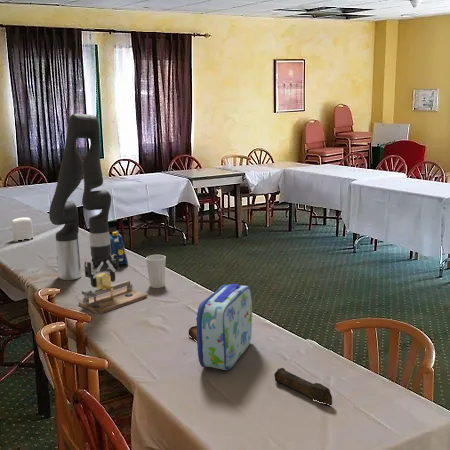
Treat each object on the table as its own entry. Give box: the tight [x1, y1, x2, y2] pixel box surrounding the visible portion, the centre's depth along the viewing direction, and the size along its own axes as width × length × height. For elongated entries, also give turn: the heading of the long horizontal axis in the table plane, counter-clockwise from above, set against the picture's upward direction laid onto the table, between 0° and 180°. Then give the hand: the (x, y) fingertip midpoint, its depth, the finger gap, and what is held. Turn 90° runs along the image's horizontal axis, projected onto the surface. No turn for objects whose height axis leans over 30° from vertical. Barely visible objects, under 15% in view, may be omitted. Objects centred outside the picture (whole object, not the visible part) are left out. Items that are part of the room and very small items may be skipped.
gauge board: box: [78, 279, 148, 315], centre depth 228 cm, size 14×22×6 cm, turn 137°
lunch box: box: [195, 283, 253, 371], centre depth 178 cm, size 26×11×21 cm, turn 160°
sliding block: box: [95, 272, 114, 300], centre depth 227 cm, size 8×4×9 cm, turn 47°
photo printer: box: [11, 216, 34, 242], centre depth 323 cm, size 10×4×12 cm, turn 117°
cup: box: [145, 254, 167, 289], centre depth 244 cm, size 8×8×12 cm
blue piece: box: [109, 230, 129, 266], centre depth 275 cm, size 13×15×15 cm
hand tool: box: [273, 367, 333, 406], centre depth 157 cm, size 19×4×5 cm, turn 38°
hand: (103, 284), depth 227 cm, fingers open, 8 cm apart
